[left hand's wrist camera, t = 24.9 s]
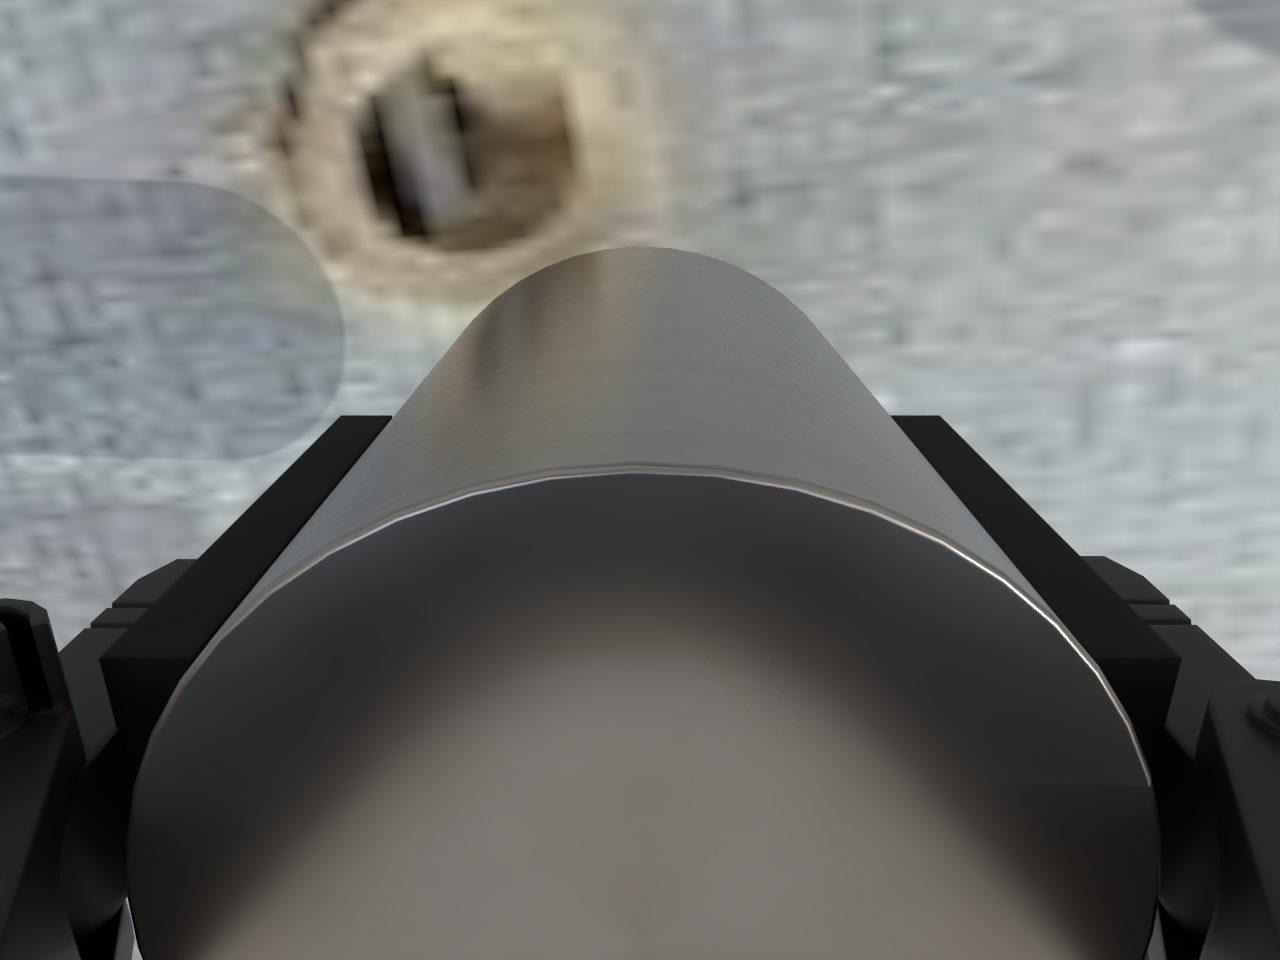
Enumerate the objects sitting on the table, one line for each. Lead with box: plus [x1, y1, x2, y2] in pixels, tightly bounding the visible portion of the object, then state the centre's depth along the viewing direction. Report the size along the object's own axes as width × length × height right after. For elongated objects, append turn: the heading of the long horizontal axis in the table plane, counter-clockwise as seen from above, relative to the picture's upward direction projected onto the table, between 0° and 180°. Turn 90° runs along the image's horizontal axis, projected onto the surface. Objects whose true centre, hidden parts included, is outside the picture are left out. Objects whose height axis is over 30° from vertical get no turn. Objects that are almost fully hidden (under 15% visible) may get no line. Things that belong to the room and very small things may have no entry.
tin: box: [126, 247, 1161, 960], centre depth 11 cm, size 7×7×9 cm
